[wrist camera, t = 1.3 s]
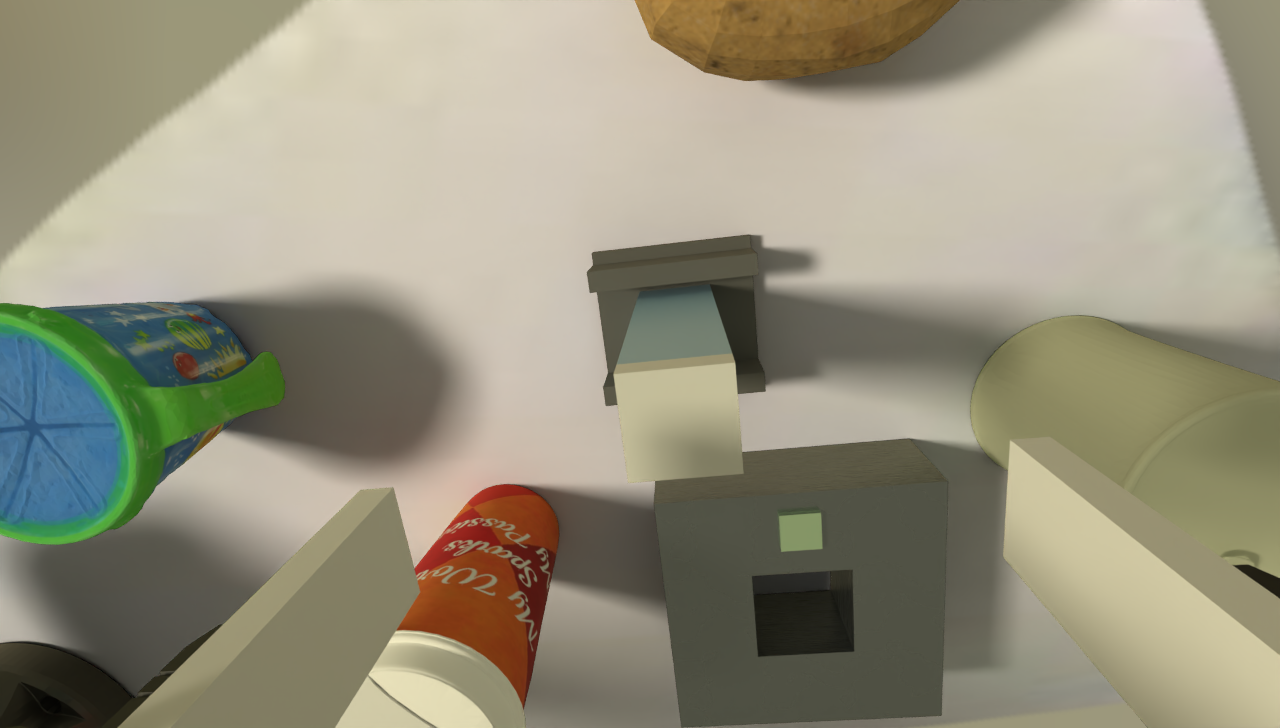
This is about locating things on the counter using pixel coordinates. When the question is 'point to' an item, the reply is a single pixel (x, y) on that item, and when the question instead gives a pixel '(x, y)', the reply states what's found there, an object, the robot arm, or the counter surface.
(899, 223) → the counter surface
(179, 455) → the snack cup
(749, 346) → the dark grey bridge bracket
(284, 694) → the robot arm
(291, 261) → the counter surface
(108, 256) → the counter surface
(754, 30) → the potato
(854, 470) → the port
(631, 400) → the plug
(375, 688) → the coffee cup
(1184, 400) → the can
